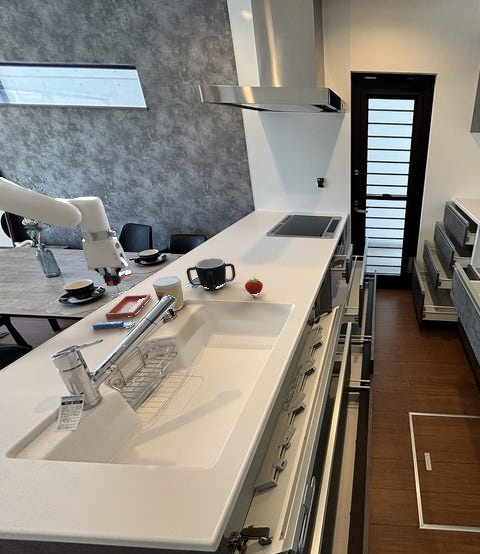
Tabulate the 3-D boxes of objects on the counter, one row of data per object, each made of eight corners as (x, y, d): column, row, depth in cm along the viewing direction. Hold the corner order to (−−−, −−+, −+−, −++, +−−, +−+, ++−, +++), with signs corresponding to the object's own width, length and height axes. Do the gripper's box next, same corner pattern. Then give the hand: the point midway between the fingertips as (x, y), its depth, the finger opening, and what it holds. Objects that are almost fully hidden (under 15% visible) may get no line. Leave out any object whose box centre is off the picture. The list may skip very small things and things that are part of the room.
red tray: (106, 319, 113) (105, 314, 113) (126, 300, 127) (125, 295, 126) (134, 317, 116) (133, 312, 115) (151, 298, 129) (150, 294, 128)
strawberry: (247, 294, 137) (244, 273, 133) (265, 293, 138) (262, 273, 134) (244, 300, 131) (242, 279, 127) (263, 299, 133) (260, 278, 129)
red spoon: (117, 286, 108) (116, 281, 108) (105, 286, 108) (104, 282, 107) (133, 272, 119) (132, 268, 119) (123, 273, 118) (121, 268, 118)
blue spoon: (91, 331, 106) (90, 327, 105) (97, 325, 109) (96, 321, 108) (131, 328, 109) (130, 324, 108) (136, 323, 112) (135, 318, 111)
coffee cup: (157, 306, 123) (150, 279, 118) (183, 300, 129) (177, 274, 124) (162, 316, 117) (154, 288, 112) (189, 308, 123) (183, 282, 118)
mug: (218, 276, 152) (214, 254, 147) (240, 284, 145) (237, 261, 140) (186, 288, 139) (181, 264, 134) (209, 297, 132) (204, 272, 127)
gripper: (129, 231, 107) (143, 279, 115) (77, 232, 104) (94, 281, 111) (118, 237, 100) (133, 287, 108) (62, 238, 97) (82, 290, 104)
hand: (114, 284), depth 109 cm, fingers closed on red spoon, 1 cm apart
